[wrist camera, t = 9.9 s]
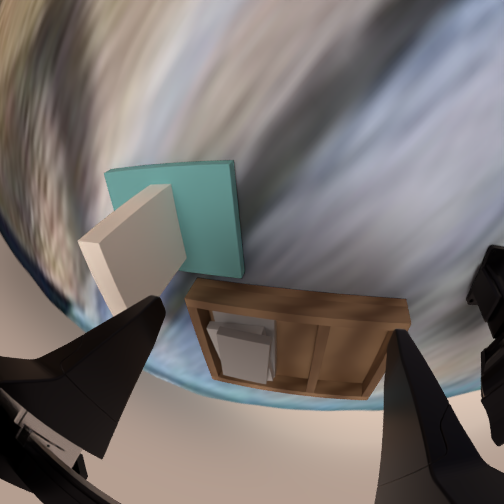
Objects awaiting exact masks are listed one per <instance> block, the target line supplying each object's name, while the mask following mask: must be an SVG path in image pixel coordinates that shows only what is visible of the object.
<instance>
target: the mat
mask: <svg viewBox="0 0 504 504" xmlns="http://www.w3.org/2000/svg"><path fill="white" fill-rule="evenodd" d="M104 175H105V179H106V183H107V187H108V191H109V194H110V198H111V201H112V205H113V208H114V211H115V210H116V209H118V208H119V207H120V206H121V205H123V204H124V203H125V202H127V201H128V200H129V199H131V198H132V197H134V196H135V195H136V194H138V193H139V192H141V191H142V190H143V189H145V188H146V187H148V186H149V185H152V184H171V187H172V192H173V197H174V202H175V207H176V212H177V217H178V222H179V226H180V231H181V235H182V240H183V244H184V248H185V253H186V257H187V258H186V260H185V261H184V263H183V264H182V265H181V267H180V268H179V270H178V271H186V272H193V273H201V274H209V275H217V276H225V277H233V278H241V279H242V277H243V274H244V272H245V268H244V259H243V249H242V240H241V230H240V220H239V210H238V200H237V190H236V180H235V169H234V160H223V161H196V162H179V163H165V164H153V165H143V166H133V167H125V168H117V169H110V170H109V171H107V172H105V173H104Z"/></svg>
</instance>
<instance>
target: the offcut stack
mask: <svg viewBox="0 0 504 504" xmlns="http://www.w3.org/2000/svg"><path fill="white" fill-rule="evenodd" d="M212 312H213V316H214V320H215V322H214V321H210V322H209V324H208V326H207V328H206V329H207V331H208V333H209V335H210V338H211V340H212V342H213V344H214V347H215V349H216V351H217V353H218V355H219V358H220V360H221V365H222V370H223V375H226V376H230V377H234V378H238V379H243V380H247V381H252V382H256V383H261V384H266V383H267V381H273V378H274V377H275V375H276V363H277V325H276V320H270V319H263V318H256V317H249V316H242V315H235V314H229V313H223V312H217V311H212Z"/></svg>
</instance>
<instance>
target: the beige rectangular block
mask: <svg viewBox="0 0 504 504" xmlns="http://www.w3.org/2000/svg"><path fill="white" fill-rule="evenodd" d="M78 243H79V245H80V248H81V250H82V253H83V255H84V257H85V260H86V262H87V264H88V266H89V269H90V271H91V273H92V275H93V277H94V279H95V282H96V284H97V286H98V288H99V290H100V292H101V294H102V296H103V298H104V300H105V302H106V303H107V305H108V307H109V309H110V311H111V313H112V315H113V316H115V315H117V314H119V313H120V312H122V311H124V310H126V309H127V308H129V307H131V306H132V305H134V304H136V303H137V302H139V301H141V300H143V299H144V298H146V297H148V296H150V295H155V296H160V295H161V293H162V292H163V291H164V289H165V288H166V286H167V285H168V284H169V282H170V281H171V279H172V278H173V276H174V275H175V274H176V272H177V271H178V270H179V268H180V267H181V265H182V264H183V263H184V261H185V260H186V258H187V257H186V253H185V248H184V244H183V240H182V235H181V231H180V226H179V222H178V217H177V212H176V207H175V202H174V197H173V192H172V187H171V184H152V185H149V186H148V187H146V188H145V189H143V190H142V191H141V192H139V193H138V194H136V195H135V196H134V197H132V198H131V199H129V200H128V201H127V202H125V203H124V204H123V205H121V206H120V207H119V208H118V209H116V210H115V211H114V212H112V213H111V214H110V215H108V216H107V217H106V218H105V219H103V220H102V221H101V222H100V223H98V224H97V225H96V226H95V227H94V228H92V229H91V230H90V231H89V232H88V233H86V234H85V235H84V236H83V237H82V238H80V239H79V240H78Z"/></svg>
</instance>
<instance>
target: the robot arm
mask: <svg viewBox="0 0 504 504" xmlns="http://www.w3.org/2000/svg"><path fill="white" fill-rule="evenodd" d="M492 251H493V252H492ZM466 301H467V303H468V304H469V305H478V306H479V309H480V311H481V314H482V316H483V319H484V321H485V322H487V323H488V326H489V329H490V331H491V334H492V337H493V339H495V340H494V341H493V342H492V343H491V344H490V345H489V346H488V347H487V348H485V349H484V350H483V351H482V352H481V397H482V399H481V402H482V404H483V406H484V408H485V409H486V412H487V414H488V418H489V422H490V429H491V438H492V440H493V441H494V443H495V444H496V445H497V446H501V445H503V444H504V247H501V246H494V245H493V246H490V248H489V249H488V251H487V254H486V256H485V259H484V261H483V264H482V266H481V268H480V271H479V273H478V275H477V277H476V280H475V282H474V284H473V286H472V288H471V290H470V292H469V294H468V296H467V298H466ZM165 314H166V311H165V308H164V305H163V303H162V300H161V298H160V297H159V296H155V295H150V296H148V297H146V298H144V299H143V300H141V301H139V302H137V303H136V304H134V305H132V306H131V307H129V308H127V309H126V310H124V311H122V312H120V313H119V314H117V315H115V316H114V317H112V318H110V319H109V320H107V321H105V322H104V323H102V324H100V325H99V326H97V327H95V328H93V329H92V330H90V331H88V332H87V333H85V334H84V335H82V336H80V337H78V338H77V339H75V340H73V341H72V342H70V343H68V344H66V345H64V346H62V347H60V348H58V349H56V350H54V351H52V352H50V353H48V354H46V355H44V356H42V357H40V358H37V359H30V360H29V359H19V358H10V357H2V356H0V478H1V479H2V480H4V481H6V482H8V483H11V484H13V485H15V486H17V487H19V488H22V489H24V490H26V491H29V492H32V493H34V494H35V495H36V497H37V498H38V499H39V500H40V501H41V502H42V503H44V504H121V503H119V502H117V501H116V500H114V499H113V498H111V497H110V496H108V495H107V494H105V493H103V492H102V491H101V490H99V489H98V488H96V487H95V486H93V485H92V484H91V483H89V482H88V481H86V479H87V477H88V475H87V471H86V467H85V463H84V459H83V455H82V454H81V451H82V449H83V450H85V451H87V452H89V453H91V454H92V455H94V456H96V457H98V458H100V459H103V457H104V455H105V452H106V450H107V448H108V445H109V443H110V440H111V438H112V436H113V433H114V431H115V429H116V427H117V424H118V421H119V419H120V417H121V415H122V412H123V410H124V408H125V406H126V404H127V402H128V399H129V397H130V395H131V393H132V390H133V388H134V386H135V384H136V382H137V380H138V378H139V376H140V374H141V372H142V369H143V367H144V365H145V363H146V361H147V359H148V357H149V355H150V353H151V351H152V349H153V347H154V344H155V342H156V339H157V336H158V334H159V331H160V328H161V326H162V323H163V320H164V318H165ZM375 504H504V473H503V472H501V471H499V470H497V469H495V468H493V467H491V466H489V465H488V464H487V463H486V462H485V461H484V460H483V459H482V458H481V456H480V455H479V453H478V452H477V450H476V448H475V446H474V445H473V443H472V442H471V440H470V438H469V437H468V435H467V434H466V432H465V430H464V429H463V427H462V425H461V424H460V422H459V420H458V418H457V416H456V415H455V413H454V411H453V409H452V407H451V405H450V404H449V401H448V400H447V398H446V396H445V394H444V392H443V390H442V389H441V387H440V385H439V383H438V381H437V380H436V378H435V376H434V374H433V373H432V371H431V369H430V368H429V366H428V364H427V362H426V361H425V359H424V358H423V356H422V354H421V353H420V351H419V349H418V348H417V346H416V345H415V343H414V341H413V340H412V338H411V337H410V335H409V334H408V332H407V331H406V330H405V329H395V330H394V331H393V333H392V335H391V338H390V340H389V342H388V346H387V357H386V370H385V380H384V419H383V438H382V451H381V462H380V471H379V479H378V487H377V492H376V499H375Z"/></svg>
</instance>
